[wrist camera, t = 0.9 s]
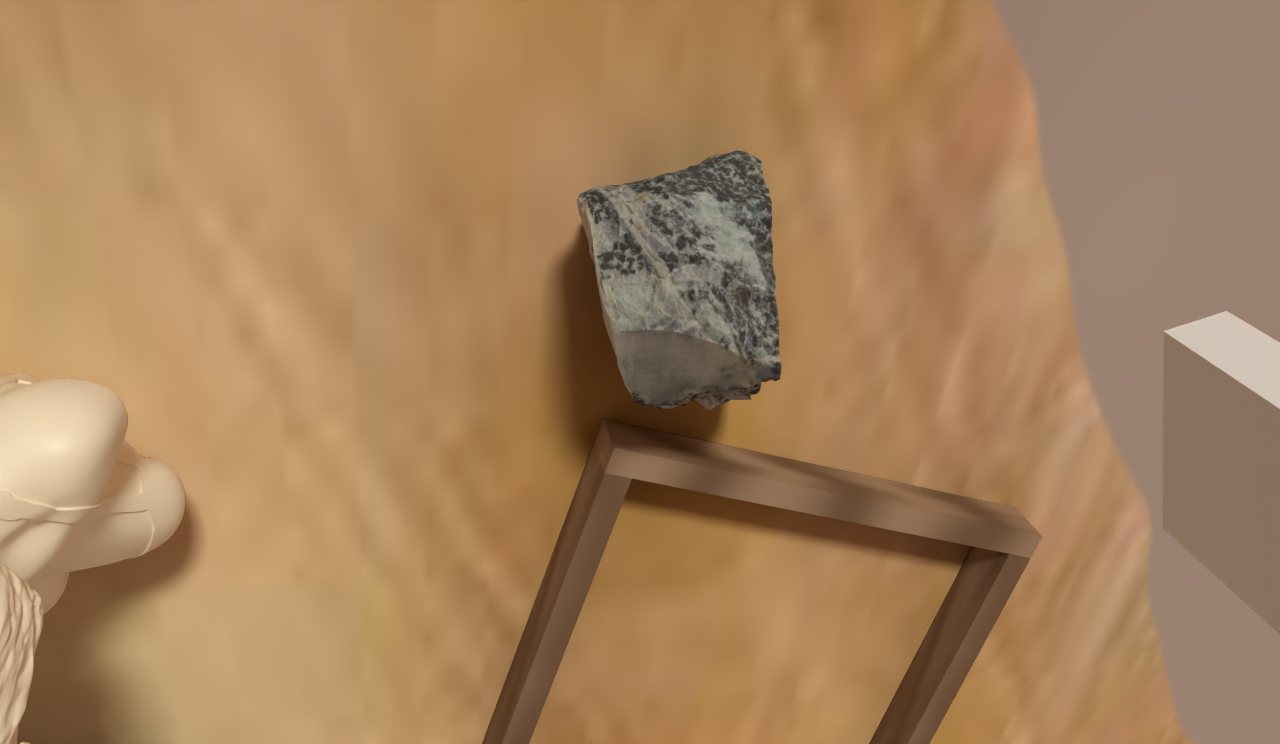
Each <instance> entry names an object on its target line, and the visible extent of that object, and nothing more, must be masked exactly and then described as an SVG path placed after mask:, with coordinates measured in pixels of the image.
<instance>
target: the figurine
mask: <svg viewBox="0 0 1280 744" xmlns="http://www.w3.org/2000/svg"><path fill="white" fill-rule="evenodd" d="M127 425H128V415H127V411H126V408H125V406H124V404H123V402H122V400H121V399H120V398H119V397H118V396H117V395H116V394H115V393H114V392H112V391H111V390H109V389H107V388H106V387H103V386H101V385H99V384H96V383H93V382H89V381H85V380H79V379H66V378H61V379H50V380H44V381H40V380H38V379H36V378H33V377H31V376H28V375H25V374H14V375H9V376H6V377H3V378H0V744H17V737H18V725H19V723H20V720H21V718H22V716H23V714H24V712H25V709H26V705H27V698H28V695H29V692H30V686H31V683H32V678H33V669H34V661H33V659H34V654H35V651H36V648H37V644H38V640H39V637H40V635H41V632H42V628H43V615H44V614H45V613H46V612H47V611H49V610H50V609H51V608H52V607H53V606H54V605H55V604H56V602H57V601H58V600H59V599H60V597H61V595H62V594H63V592H64V590H65V587H66V585H67V581H68V577H69V572H72V571H77V570H83V569H88V568H93V567H99V566H103V565H108V564H112V563H115V562H119V561H122V560H125V559H132V558H136V557H139V556H141V555H143V554H145V553H147V552H149V551H151V550H153V549H155V548H157V547H158V546H160V545H161V544H163V543H164V542H165V541H166V540H168V539H169V538H170V537H171V536H172V535H173V534H174V532H175V531H176V530H177V528H178V527H179V525H180V523H181V520H182V518H183V515H184V511H185V491H184V487H183V484H182V481H181V479H180V477H179V475H178V474H177V473H176V471H175V470H174V469H173V468H171V467H170V466H168V465H167V464H165V463H163V462H161V461H158V460H156V459H153V458H149V459H146V458H144V457H143V456H141V455H140V454H138V453H137V452H136V451H135V449H134V448H133V447H132V446H131V445H130V444H129V443H128V442H126V441H125V440H124V437H125V434H126V430H127ZM20 744H30V743H28V742H21V743H20Z"/></svg>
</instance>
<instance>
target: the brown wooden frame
mask: <svg viewBox="0 0 1280 744" xmlns="http://www.w3.org/2000/svg"><path fill="white" fill-rule="evenodd" d="M632 479H637V480H642V481H647V482H652V483H657V484H662V485H667V486H672V487H677V488H682V489H687V490H692V491H697V492H702V493H707V494H712V495H717V496H722V497H727V498H732V499H737V500H742V501H747V502H752V503H757V504H762V505H767V506H772V507H777V508H783V509H788V510H793V511H798V512H803V513H808V514H813V515H818V516H823V517H828V518H833V519H838V520H843V521H848V522H853V523H858V524H863V525H868V526H873V527H878V528H883V529H888V530H893V531H898V532H903V533H908V534H913V535H918V536H923V537H928V538H933V539H938V540H943V541H948V542H953V543H958V544H963V545H968V546H973V547H972V549H971V551H970V553H969V555H968V556H967V558H966V560H965V562H964V564H963V566H962V568H961V570H960V572H959V574H958V576H957V578H956V579H955V581H954V583H953V585H952V587H951V589H950V591H949V593H948V595H947V597H946V599H945V600H944V602H943V604H942V606H941V608H940V610H939V612H938V614H937V616H936V618H935V620H934V622H933V623H932V625H931V627H930V629H929V631H928V633H927V635H926V637H925V639H924V641H923V643H922V645H921V646H920V648H919V650H918V652H917V654H916V656H915V658H914V660H913V662H912V664H911V666H910V667H909V669H908V671H907V673H906V675H905V677H904V679H903V681H902V683H901V685H900V687H899V689H898V690H897V692H896V694H895V696H894V698H893V700H892V702H891V704H890V706H889V708H888V710H887V712H886V713H885V715H884V717H883V719H882V721H881V723H880V725H879V727H878V729H877V731H876V733H875V734H874V736H873V738H872V740H871V742H870V744H929V743H930V742H931V740H932V738H933V736H934V734H935V732H936V731H937V729H938V727H939V725H940V723H941V721H942V720H943V718H944V716H945V714H946V712H947V710H948V709H949V707H950V705H951V703H952V701H953V699H954V698H955V696H956V694H957V692H958V690H959V688H960V687H961V685H962V683H963V681H964V679H965V677H966V676H967V674H968V672H969V670H970V668H971V666H972V665H973V663H974V661H975V659H976V657H977V655H978V654H979V652H980V650H981V648H982V646H983V644H984V643H985V641H986V639H987V637H988V635H989V633H990V632H991V630H992V628H993V626H994V624H995V622H996V621H997V619H998V617H999V615H1000V613H1001V611H1002V610H1003V608H1004V606H1005V604H1006V602H1007V600H1008V599H1009V597H1010V595H1011V593H1012V591H1013V589H1014V588H1015V586H1016V584H1017V582H1018V580H1019V578H1020V577H1021V575H1022V573H1023V571H1024V569H1025V568H1026V566H1027V564H1028V562H1029V560H1030V558H1031V557H1032V555H1033V553H1034V551H1035V549H1036V547H1037V546H1038V544H1039V542H1040V540H1041V538H1042V536H1041V535H1040V534H1039V533H1038V532H1037V530H1036V529H1035V528H1034V527H1033V526H1032V525H1031V524H1030V523H1029V522H1028V521H1027V520H1026V519H1025V518H1024V516H1023V515H1022V514H1021V513H1020V512H1019V511H1018V510H1017V509H1016V508H1014V507H1009V506H1004V505H1000V504H995V503H990V502H986V501H981V500H977V499H972V498H967V497H963V496H958V495H953V494H949V493H944V492H939V491H935V490H930V489H926V488H921V487H916V486H912V485H907V484H902V483H898V482H893V481H889V480H884V479H879V478H875V477H870V476H865V475H861V474H856V473H851V472H847V471H842V470H838V469H833V468H828V467H824V466H819V465H814V464H810V463H805V462H800V461H796V460H791V459H787V458H782V457H777V456H773V455H768V454H763V453H759V452H754V451H749V450H745V449H740V448H736V447H731V446H726V445H722V444H717V443H712V442H708V441H703V440H698V439H694V438H689V437H685V436H680V435H675V434H671V433H666V432H661V431H657V430H652V429H648V428H643V427H638V426H634V425H629V424H624V423H620V422H615V421H610V420H606V419H602V422H601V425H600V427H599V430H598V433H597V436H596V438H595V441H594V444H593V446H592V449H591V452H590V454H589V457H588V460H587V463H586V465H585V468H584V471H583V473H582V476H581V479H580V481H579V484H578V487H577V489H576V492H575V495H574V498H573V500H572V503H571V506H570V508H569V511H568V514H567V516H566V519H565V522H564V525H563V527H562V530H561V533H560V535H559V538H558V541H557V543H556V546H555V549H554V551H553V554H552V557H551V560H550V562H549V565H548V568H547V570H546V573H545V576H544V578H543V581H542V584H541V587H540V589H539V592H538V595H537V597H536V600H535V603H534V605H533V608H532V611H531V613H530V616H529V619H528V622H527V624H526V627H525V630H524V632H523V635H522V638H521V640H520V643H519V646H518V648H517V651H516V654H515V657H514V659H513V662H512V665H511V667H510V670H509V673H508V675H507V678H506V681H505V684H504V686H503V689H502V692H501V694H500V697H499V700H498V702H497V705H496V708H495V710H494V713H493V716H492V719H491V721H490V724H489V727H488V729H487V732H486V735H485V737H484V740H483V743H482V744H529V742H530V739H531V737H532V734H533V732H534V729H535V727H536V724H537V721H538V719H539V716H540V714H541V711H542V709H543V706H544V703H545V701H546V698H547V696H548V693H549V691H550V688H551V685H552V683H553V680H554V678H555V675H556V673H557V670H558V667H559V665H560V662H561V660H562V657H563V655H564V652H565V650H566V647H567V644H568V642H569V639H570V637H571V634H572V632H573V629H574V626H575V624H576V621H577V619H578V616H579V614H580V611H581V608H582V606H583V603H584V601H585V598H586V596H587V593H588V590H589V588H590V585H591V583H592V580H593V578H594V575H595V572H596V570H597V567H598V565H599V562H600V560H601V557H602V554H603V552H604V549H605V547H606V544H607V542H608V539H609V536H610V534H611V531H612V529H613V526H614V524H615V521H616V518H617V516H618V513H619V511H620V508H621V506H622V503H623V501H624V498H625V495H626V493H627V490H628V488H629V485H630V483H631V480H632Z"/></svg>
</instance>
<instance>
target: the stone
mask: <svg viewBox="0 0 1280 744" xmlns="http://www.w3.org/2000/svg"><path fill="white" fill-rule="evenodd" d="M577 205H578V209H579V213H580V216H581V219H582V224H583V227H584V230H585V233H586V236H587V239H588V243H589V254H590V256H591V258H592V260H593V263H594V265H595V267H596V277H597V285H598V290H599V295H600V300H601V305H602V311H603V318H604V322H605V326H606V329H607V332H608V335H609V338H610V341H611V343H612V346H613V349H614V351H615V353H616V358H617V364H618V368H619V370H620V373H621V375H622V378H623V380H624V383H625V386H626V387H627V389H628V391H629V392H630V394H631V396H632V398H633V400H634V402H635V403H637V404H638V405H642V406H652V407H657V408H659V409H666V408H667V409H671V408H676V407H677V406H679V405H682V406H684V405H686V404H687V403H689V402H690V401H697V402H699V403H700V404H701V405H702V406H703V407H704V408H705V409H706V410H711V409H713V408H715V407H716V406H718V405H720V404H722V403H725V402H727V401H730V400H751V395H753V394H757V393H758V392H759V391H760V388H761V382H766V381H769V380H774V381H777V380H779V379H780V373H781V362H780V355H779V319H778V311H777V304H776V295H775V275H774V272H773V262H772V253H773V244H772V239H771V229H772V202H771V199H770V195H769V189H768V188H767V186H766V185H765V181H764V178H763V171H762V163H761V161H760V160H759V159H757V158H756V157H754V156H752V155H751V154H749V153H747V152H745V151H734V152H731V153H727V154H720V155H714V156H712V157H710V158H707V159H706V160H704V161H703V162H701V163H700V164H699V165H694V166H690V167H689V168H687V169H684V170H681V171H679V172H674V173H667V174H664V175H660V176H657V177H653V178H650V179H645V180H641V181H637V182H632V183H628V184H627V183H625V184H622V185H612V186H597V187H594V188H592V189H590V190H588V191H586V192H584V193H582V194H580V195H579V196H578V199H577Z"/></svg>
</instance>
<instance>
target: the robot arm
mask: <svg viewBox="0 0 1280 744" xmlns="http://www.w3.org/2000/svg"><path fill="white" fill-rule="evenodd" d="M1163 391H1164V393H1163V394H1164V395H1163V396H1164V397H1163V402H1164V403H1163V408H1164V409H1163V412H1164V413H1163V529H1164V530H1165V531H1167V532H1168V533H1169V534H1170V535H1171V536H1172V537H1173V538H1174V539H1175V540H1176V541H1178V542H1179V543H1180V544H1181V545H1182V546H1183V547H1184V548H1185V549H1186V550H1188V551H1189V552H1190V553H1191V554H1192V555H1193V556H1194V557H1195V558H1197V560H1199V561H1200V562H1201V563H1202V564H1203V565H1204V566H1205V567H1206V568H1207V569H1209V570H1210V571H1211V572H1212V573H1213V574H1214V575H1215V576H1216V577H1217V578H1218V579H1220V580H1221V581H1222V582H1223V583H1224V584H1225V585H1226V586H1227V587H1228V588H1229V589H1231V590H1232V591H1233V592H1234V593H1235V594H1236V595H1237V596H1238V597H1239V598H1241V599H1242V600H1243V601H1244V602H1245V603H1246V604H1247V605H1248V606H1249V607H1250V608H1252V609H1253V610H1254V611H1255V612H1256V613H1257V614H1258V615H1259V616H1260V617H1262V618H1263V619H1264V620H1265V621H1266V622H1267V623H1268V624H1269V625H1270V626H1271V627H1273V628H1274V629H1275V630H1276V631H1277V632H1278V633H1279V634H1280V343H1279V342H1277V341H1276V340H1274V339H1272V338H1271V337H1269V336H1267V335H1266V334H1264V333H1262V332H1261V331H1259V330H1257V329H1256V328H1254V327H1252V326H1251V325H1249V324H1247V323H1246V322H1244V321H1242V320H1241V319H1239V318H1237V317H1236V316H1234V315H1232V314H1231V313H1229V312H1227V311H1225V312H1222V313H1219V314H1216V315H1213V316H1210V317H1207V318H1204V319H1200V320H1197V321H1194V322H1191V323H1188V324H1185V325H1182V326H1179V327H1176V328H1173V329H1169V330H1166V331H1164V388H1163Z"/></svg>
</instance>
